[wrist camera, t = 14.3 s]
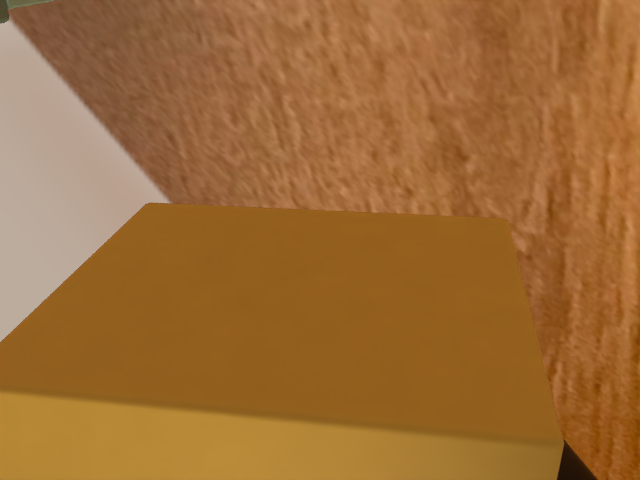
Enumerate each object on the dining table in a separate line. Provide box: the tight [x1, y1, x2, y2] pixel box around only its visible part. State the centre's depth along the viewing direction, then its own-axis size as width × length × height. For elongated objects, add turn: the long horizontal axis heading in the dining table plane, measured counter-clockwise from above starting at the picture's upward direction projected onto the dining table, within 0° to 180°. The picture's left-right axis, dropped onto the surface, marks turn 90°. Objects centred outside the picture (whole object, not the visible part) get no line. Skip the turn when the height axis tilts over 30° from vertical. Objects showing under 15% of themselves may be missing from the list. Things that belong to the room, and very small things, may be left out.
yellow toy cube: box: [0, 203, 564, 480], centre depth 8 cm, size 5×5×4 cm
